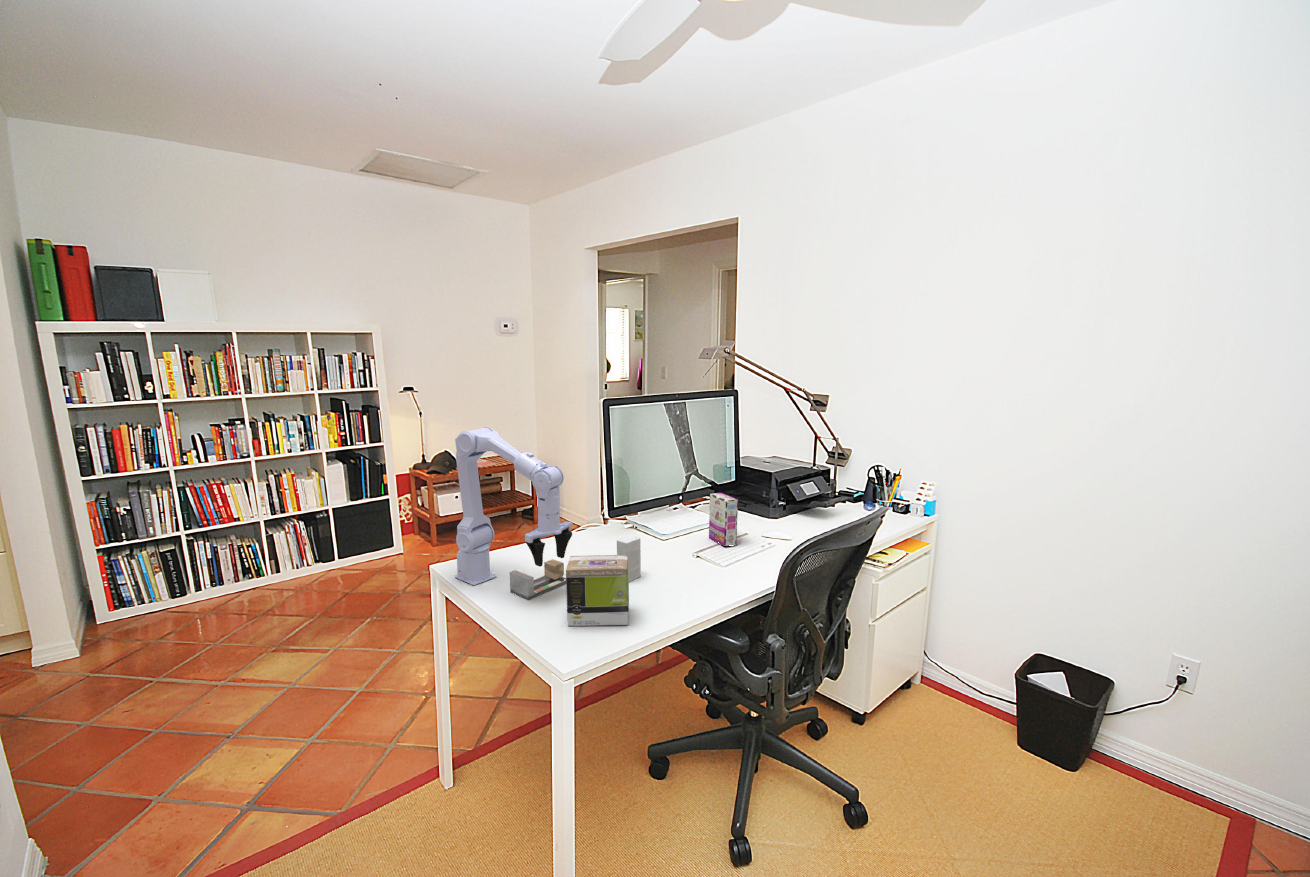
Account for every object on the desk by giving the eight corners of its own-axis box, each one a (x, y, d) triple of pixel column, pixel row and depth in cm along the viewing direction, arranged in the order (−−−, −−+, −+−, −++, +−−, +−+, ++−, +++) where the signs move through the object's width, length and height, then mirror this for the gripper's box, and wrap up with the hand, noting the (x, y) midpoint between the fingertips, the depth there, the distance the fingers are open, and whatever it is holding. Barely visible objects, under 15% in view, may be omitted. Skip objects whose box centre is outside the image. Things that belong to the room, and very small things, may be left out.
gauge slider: (554, 573, 166) (553, 558, 165) (568, 578, 162) (568, 563, 162) (544, 576, 163) (544, 562, 163) (559, 582, 160) (558, 567, 159)
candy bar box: (737, 546, 193) (738, 499, 191) (724, 548, 191) (726, 501, 189) (720, 536, 203) (721, 491, 201) (708, 538, 201) (709, 493, 199)
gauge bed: (551, 575, 168) (551, 556, 167) (569, 582, 163) (569, 562, 162) (510, 592, 156) (509, 572, 155) (528, 600, 151) (527, 579, 150)
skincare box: (630, 573, 170) (630, 534, 168) (641, 576, 167) (641, 537, 165) (616, 579, 165) (616, 539, 163) (627, 583, 163) (627, 543, 161)
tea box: (629, 607, 148) (629, 553, 145) (628, 626, 138) (628, 568, 135) (571, 608, 147) (570, 553, 145) (566, 627, 137) (565, 569, 135)
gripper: (537, 521, 142) (538, 573, 144) (579, 509, 153) (580, 557, 155) (519, 516, 146) (520, 566, 149) (561, 504, 158) (562, 551, 160)
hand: (549, 561), depth 152 cm, fingers open, 7 cm apart
